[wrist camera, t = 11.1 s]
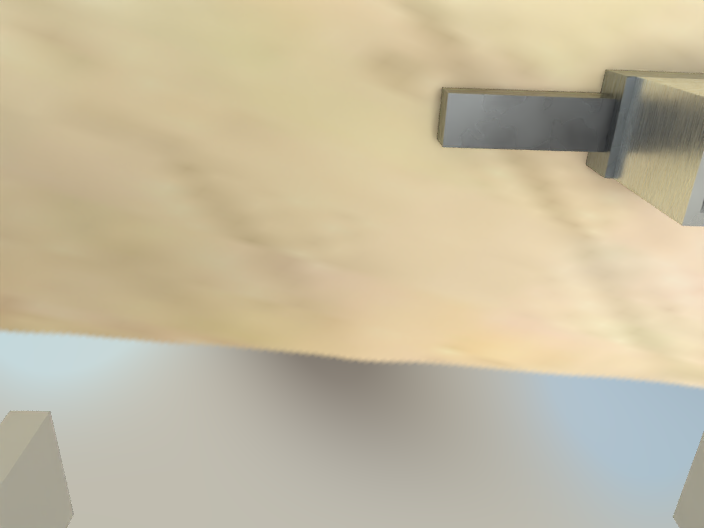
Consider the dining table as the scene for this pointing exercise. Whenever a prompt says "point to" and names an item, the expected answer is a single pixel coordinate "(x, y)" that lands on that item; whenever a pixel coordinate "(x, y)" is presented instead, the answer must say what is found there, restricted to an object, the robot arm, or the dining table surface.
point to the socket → (666, 147)
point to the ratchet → (545, 118)
